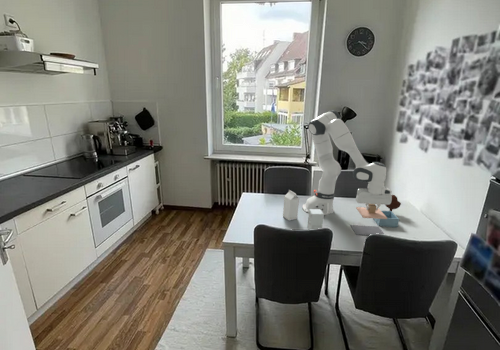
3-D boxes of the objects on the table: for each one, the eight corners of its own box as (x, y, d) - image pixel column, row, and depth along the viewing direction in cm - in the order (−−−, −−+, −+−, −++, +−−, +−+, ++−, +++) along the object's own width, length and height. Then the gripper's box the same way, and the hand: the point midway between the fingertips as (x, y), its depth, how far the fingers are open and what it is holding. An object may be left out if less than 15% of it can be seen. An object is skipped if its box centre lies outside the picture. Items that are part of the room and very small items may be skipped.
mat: (356, 234, 170) (356, 233, 170) (350, 225, 182) (350, 224, 181) (385, 236, 169) (386, 235, 169) (378, 227, 181) (378, 226, 181)
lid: (363, 217, 165) (364, 208, 164) (356, 208, 179) (357, 199, 177) (387, 219, 165) (388, 210, 163) (378, 209, 178) (379, 200, 176)
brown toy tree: (400, 218, 196) (404, 198, 192) (383, 216, 198) (387, 196, 194) (396, 211, 206) (400, 193, 201) (380, 210, 208) (383, 191, 204)
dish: (378, 226, 183) (380, 217, 181) (372, 217, 194) (373, 210, 192) (397, 227, 182) (399, 219, 180) (389, 219, 194) (391, 211, 192)
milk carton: (288, 220, 185) (291, 194, 179) (282, 216, 190) (284, 190, 185) (297, 219, 188) (300, 192, 182) (291, 214, 194) (293, 189, 188)
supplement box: (318, 227, 178) (320, 209, 174) (321, 232, 171) (324, 214, 167) (307, 226, 178) (309, 208, 174) (309, 232, 170) (311, 213, 167)
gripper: (359, 189, 164) (355, 211, 169) (394, 191, 163) (390, 213, 167) (356, 186, 170) (352, 207, 175) (390, 187, 169) (386, 208, 173)
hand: (371, 210), depth 171 cm, fingers closed on lid, 3 cm apart
